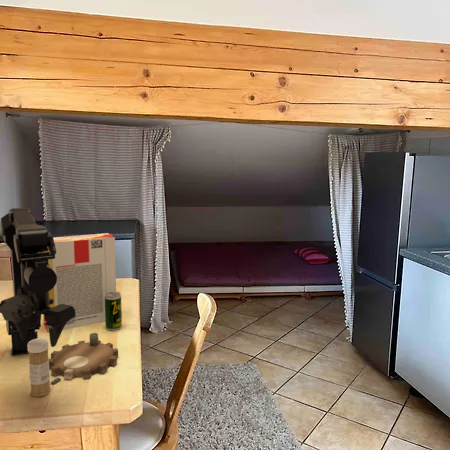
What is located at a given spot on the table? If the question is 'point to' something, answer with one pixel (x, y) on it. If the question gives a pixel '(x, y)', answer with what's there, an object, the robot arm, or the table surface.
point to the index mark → (55, 381)
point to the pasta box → (83, 276)
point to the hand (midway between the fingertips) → (38, 342)
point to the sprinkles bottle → (39, 367)
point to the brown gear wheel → (83, 358)
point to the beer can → (113, 311)
